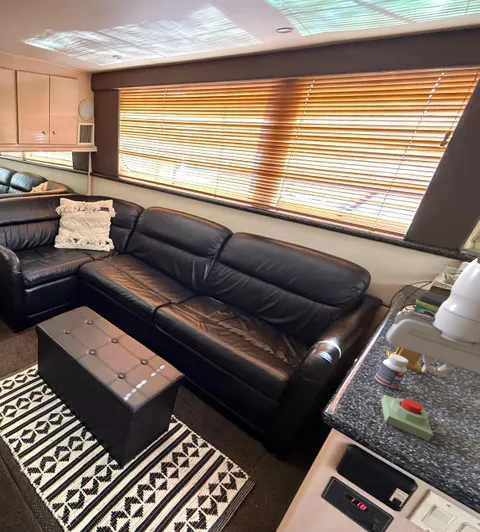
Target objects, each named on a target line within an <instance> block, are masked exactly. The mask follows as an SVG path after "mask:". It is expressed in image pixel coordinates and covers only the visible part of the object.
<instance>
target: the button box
mask: <svg viewBox="0 0 480 532" xmlns="http://www.w3.org/2000/svg"><path fill="white" fill-rule="evenodd" d="M403 399H404V398H401V397H392V396H389V395H386V394H384V395H383V396H382V398H381V400H380V402H381V408H382V412H383V413H382V414H383V419H384V423H385V424H388V425H390V426H393V427H395V428H397V429H400V430H401V431H404V432H406V433H408V434H410V435H413V436H415V437H417V438H420V439H422V440H425V441H427V442H429V441H430V440H431V438H432V437H433V436H434V432H433V431H432V427H431V424H430V422H429V418H430V417H429V414H428V412H427V411H426V410H425V409H424V408H423V409H422V411H421V412H420V414H414V413H412V412H409V411H408V410H406V409H404V408H403V407H402V406H401V405H400V404H401V402H402V401H403Z"/></svg>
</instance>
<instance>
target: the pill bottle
mask: <svg viewBox="0 0 480 532" xmlns="http://www.w3.org/2000/svg"><path fill="white" fill-rule="evenodd" d="M407 364H408V360H407V359H406V358H404V357H402V356H400V355H396V354H390V356H389V358H387V359H384V360H383V361H382V362H381V364H380V366H379V368H378V370H377V372H376V373H375V374H374V379H375V380H376V381H377V382H378V383H380V384H381V385H383V386H385V387H389V388H391V389H392V388H393V389H394V388H395V389H396V388H398V387H399V385H400V383H401V381H402V380H403V378H404V377H405V375H406V373H407V371H408V368H406V367H405V366H406V365H407Z"/></svg>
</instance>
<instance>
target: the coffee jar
mask: <svg viewBox="0 0 480 532" xmlns="http://www.w3.org/2000/svg"><path fill="white" fill-rule="evenodd" d="M448 298H449V296H448V297H447V296H444V295H441V294H439V293H434V292H431V291H428V290H427V291H422V292H421V293H420V294H419V296H418V297H417V298H416V300H415V305H414V308H413V310H412V311H414V312H416V313H420V314H424V315H428V316H432V317H434V316H435V315H436V313H437V311H438V310H439V308H440V306H441V305H442V303H443V302H445V301H446V300H447V299H448Z"/></svg>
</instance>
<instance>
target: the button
mask: <svg viewBox="0 0 480 532" xmlns="http://www.w3.org/2000/svg"><path fill="white" fill-rule="evenodd" d="M402 399H403V401H402V402H401V404H400V405H401V406H402V407H403V408H404V409H406V410H408V411H409V412H412V413H414V414H420V412H421V411H422V409H424V407H423V406H422V405H421V404H420V403H419V402H417V401H415V400H414V399H412V398H411V399H410V398H406V397H405V398H402Z"/></svg>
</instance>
